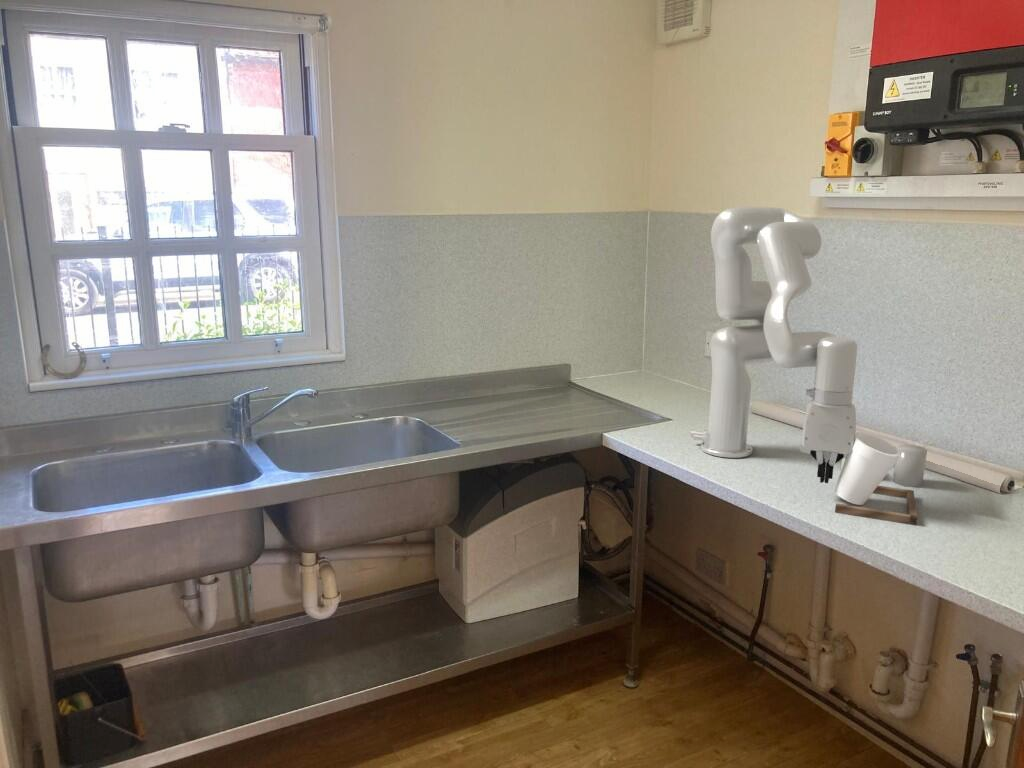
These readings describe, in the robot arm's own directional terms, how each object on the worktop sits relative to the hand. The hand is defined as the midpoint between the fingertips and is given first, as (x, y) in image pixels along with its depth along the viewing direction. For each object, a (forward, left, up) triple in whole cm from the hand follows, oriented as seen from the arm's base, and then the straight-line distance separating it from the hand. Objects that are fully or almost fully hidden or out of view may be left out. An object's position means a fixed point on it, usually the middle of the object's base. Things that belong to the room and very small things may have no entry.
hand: (824, 480), depth 166 cm
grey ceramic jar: (+17, +19, -4) cm, 25 cm away
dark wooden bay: (+10, +1, -4) cm, 11 cm away
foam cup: (+5, 0, -3) cm, 6 cm away
